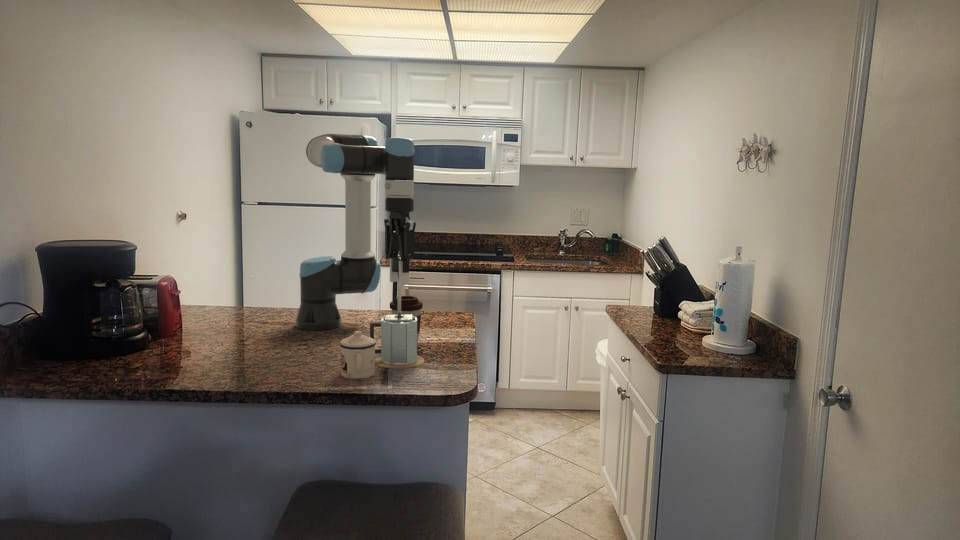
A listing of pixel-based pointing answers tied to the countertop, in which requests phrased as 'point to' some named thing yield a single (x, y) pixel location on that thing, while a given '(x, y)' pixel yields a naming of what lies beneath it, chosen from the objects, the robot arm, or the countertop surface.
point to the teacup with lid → (357, 356)
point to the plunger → (396, 269)
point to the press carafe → (397, 340)
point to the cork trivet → (379, 363)
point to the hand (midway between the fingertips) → (399, 282)
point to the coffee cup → (409, 308)
